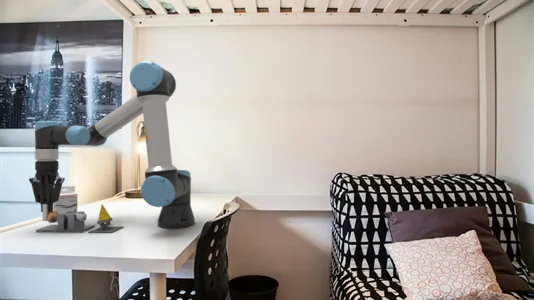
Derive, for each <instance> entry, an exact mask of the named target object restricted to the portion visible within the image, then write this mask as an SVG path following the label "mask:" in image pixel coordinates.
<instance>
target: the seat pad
mask: <svg viewBox="0 0 534 300" xmlns="http://www.w3.org/2000/svg"><path fill="white" fill-rule="evenodd" d="M123 228H124V226H121V225H120V226H119V225H118V226H114V225H109V226H108V227H107V228H106V229H105V228H103V227H101V226H99V227H97V228H96V227H95V228H93V229H91V230H88V234H114V233H115V232H117V231H119V230H121V229H123Z"/></svg>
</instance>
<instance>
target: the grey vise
mask: <svg viewBox="0 0 534 300" xmlns="http://www.w3.org/2000/svg"><path fill="white" fill-rule="evenodd" d="M66 213H75V211H69V212H66ZM76 213H85V211H82V210H80V211H77V212H76ZM85 214H86V213H85ZM85 221H86V220H85ZM85 221H77V214H69V215H68V221H66V214H58V221H57V224H49V225H46V226H43V227H41V228H40V227H39V228H37V229H35V233H55V234H56V233H61V234H63V233H65V234H66V233H67V234H68V233H69V234H71V233H72V234H73V233H76V234H77V233H78V234H79V233H80V234H83V233H85V232H87V231H88V232H89V231H91V230H94V229H96V224H85Z"/></svg>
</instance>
